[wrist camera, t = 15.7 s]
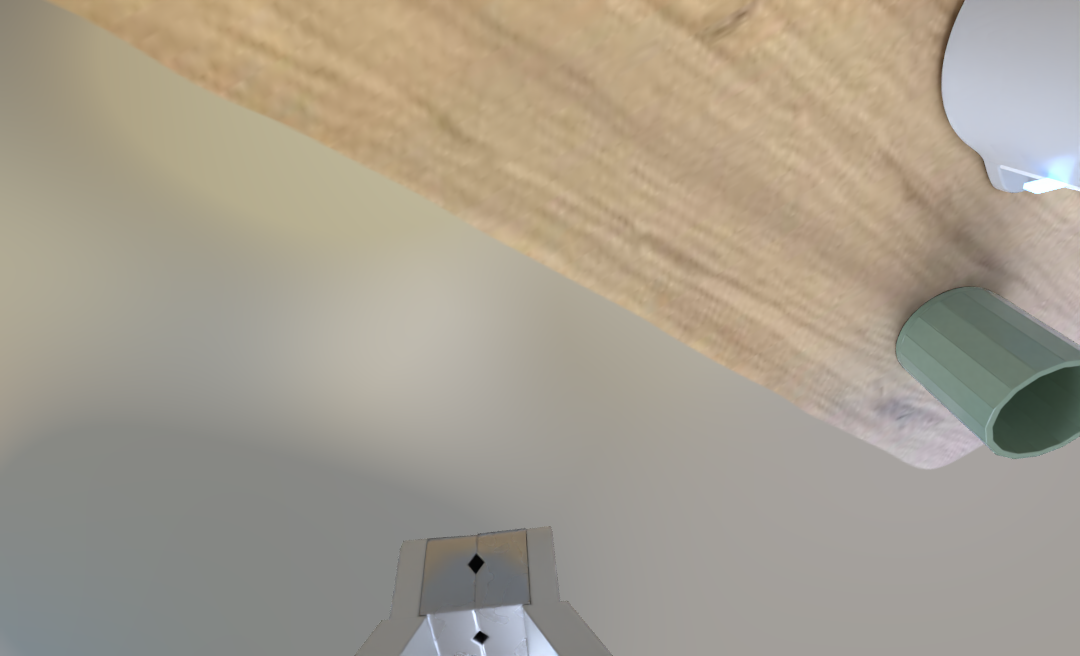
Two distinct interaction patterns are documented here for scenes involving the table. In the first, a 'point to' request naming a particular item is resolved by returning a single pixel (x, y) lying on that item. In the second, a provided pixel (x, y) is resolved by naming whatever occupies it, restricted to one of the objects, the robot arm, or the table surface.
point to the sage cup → (995, 370)
